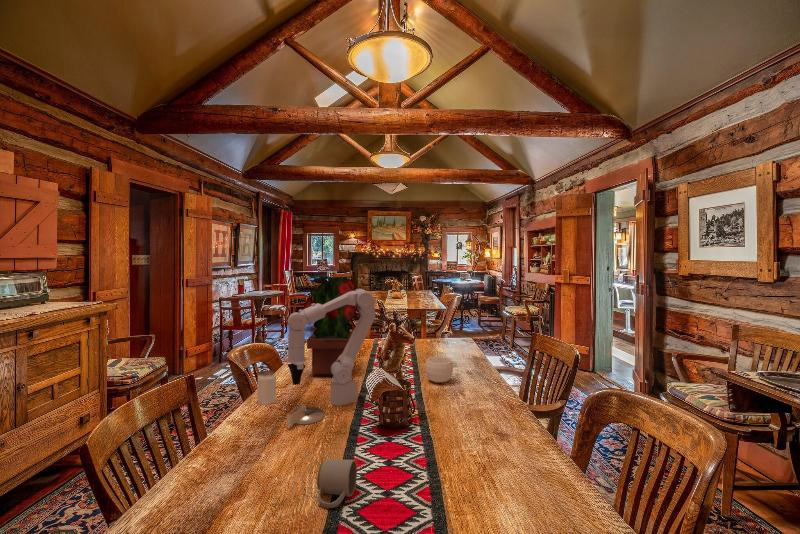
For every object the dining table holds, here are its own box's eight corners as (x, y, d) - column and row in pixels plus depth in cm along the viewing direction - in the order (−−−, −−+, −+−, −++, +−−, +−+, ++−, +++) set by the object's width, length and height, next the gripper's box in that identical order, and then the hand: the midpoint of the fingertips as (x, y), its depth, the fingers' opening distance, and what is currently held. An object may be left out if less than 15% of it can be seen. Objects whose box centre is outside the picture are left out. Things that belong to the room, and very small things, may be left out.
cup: (421, 384, 176) (421, 362, 175) (429, 376, 187) (429, 355, 187) (448, 387, 171) (449, 365, 171) (455, 379, 183) (456, 358, 183)
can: (270, 408, 146) (270, 376, 145) (254, 407, 147) (254, 374, 147) (279, 402, 152) (279, 370, 152) (263, 400, 154) (263, 369, 153)
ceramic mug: (325, 481, 101) (325, 451, 101) (357, 484, 100) (357, 454, 99) (310, 508, 91) (310, 475, 90) (345, 512, 89) (345, 478, 89)
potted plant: (356, 366, 202) (358, 276, 200) (353, 380, 179) (354, 279, 178) (312, 365, 201) (312, 275, 199) (303, 380, 179) (303, 278, 177)
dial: (300, 408, 144) (300, 394, 143) (330, 413, 140) (330, 398, 139) (272, 426, 128) (272, 410, 128) (305, 432, 125) (305, 416, 124)
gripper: (281, 343, 149) (281, 379, 150) (288, 352, 136) (288, 391, 137) (300, 341, 152) (300, 377, 153) (309, 350, 139) (309, 389, 140)
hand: (296, 383), depth 145 cm, fingers closed
